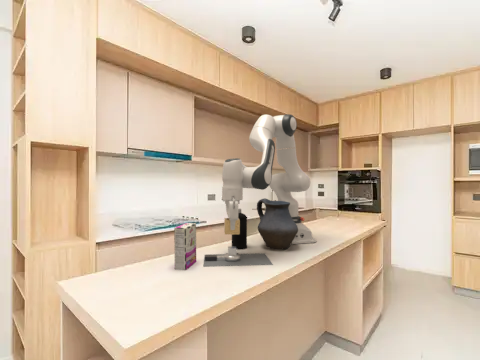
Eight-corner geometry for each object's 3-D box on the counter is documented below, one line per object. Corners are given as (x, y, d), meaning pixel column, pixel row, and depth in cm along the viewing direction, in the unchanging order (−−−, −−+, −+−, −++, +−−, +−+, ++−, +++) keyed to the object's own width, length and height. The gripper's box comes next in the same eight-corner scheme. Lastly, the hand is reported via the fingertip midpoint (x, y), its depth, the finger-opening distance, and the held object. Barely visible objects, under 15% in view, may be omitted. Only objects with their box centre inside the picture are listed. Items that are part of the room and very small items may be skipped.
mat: (264, 254, 122) (265, 253, 122) (273, 265, 105) (273, 264, 105) (204, 255, 119) (204, 254, 119) (203, 267, 102) (203, 266, 102)
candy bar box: (185, 261, 110) (185, 222, 110) (196, 262, 109) (196, 223, 109) (173, 270, 99) (173, 227, 99) (185, 271, 98) (186, 227, 98)
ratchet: (239, 256, 116) (239, 245, 116) (241, 261, 109) (241, 249, 109) (205, 257, 114) (205, 245, 114) (204, 262, 107) (204, 250, 107)
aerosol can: (247, 246, 136) (248, 208, 136) (246, 250, 128) (246, 209, 128) (232, 246, 137) (232, 207, 137) (230, 250, 128) (230, 209, 129)
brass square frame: (238, 231, 115) (238, 218, 115) (239, 234, 109) (239, 220, 109) (224, 231, 114) (224, 218, 114) (224, 234, 108) (225, 220, 108)
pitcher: (289, 255, 120) (289, 201, 120) (247, 249, 131) (248, 199, 131) (302, 245, 138) (302, 198, 138) (264, 241, 148) (265, 197, 148)
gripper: (242, 197, 102) (241, 232, 102) (237, 194, 122) (237, 224, 122) (226, 197, 101) (225, 232, 101) (224, 194, 122) (223, 224, 121)
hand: (231, 228), depth 112 cm, fingers closed on brass square frame, 6 cm apart
